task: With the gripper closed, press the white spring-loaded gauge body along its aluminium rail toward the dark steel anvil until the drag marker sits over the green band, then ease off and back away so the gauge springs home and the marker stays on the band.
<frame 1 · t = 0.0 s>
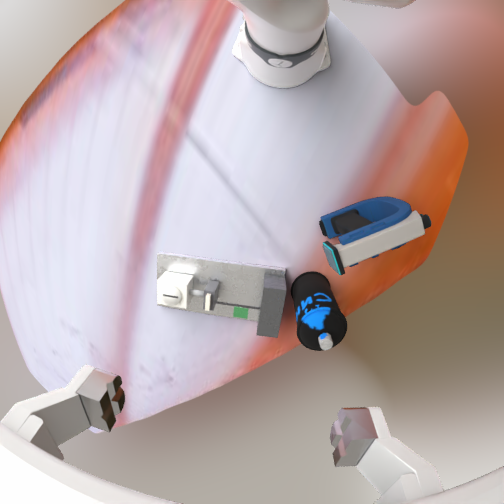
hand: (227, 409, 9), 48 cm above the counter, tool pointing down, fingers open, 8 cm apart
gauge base: (218, 286, 60), on the counter
gauge body: (182, 291, 56), point 5 cm above the counter, slide at 0.0 cm
drag marker: (210, 296, 56), point 5 cm above the counter, slide at 0.0 cm
handheld scanner: (349, 217, 55), on the counter
black water bottle: (310, 289, 60), on the counter
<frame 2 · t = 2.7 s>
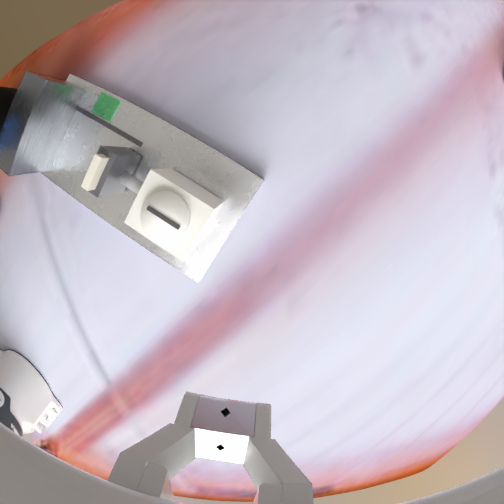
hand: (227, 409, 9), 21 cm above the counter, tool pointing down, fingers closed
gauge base: (128, 165, 28), on the counter
gauge body: (160, 202, 24), point 5 cm above the counter, slide at 0.0 cm
drag marker: (109, 170, 23), point 5 cm above the counter, slide at 0.0 cm
black water bottle: (26, 119, 26), on the counter
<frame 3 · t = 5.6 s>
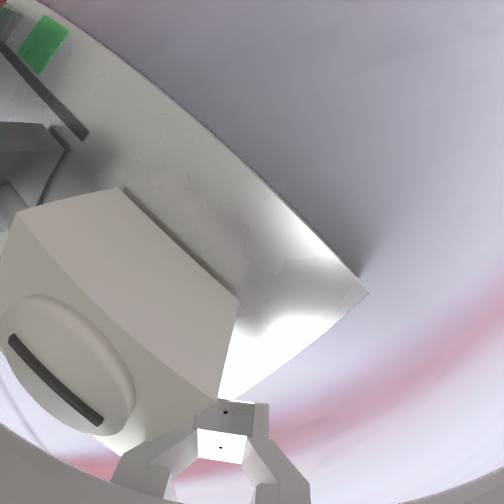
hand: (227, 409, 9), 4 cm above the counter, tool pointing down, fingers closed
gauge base: (61, 176, 11), on the counter
gauge body: (68, 292, 8), point 5 cm above the counter, slide at 1.4 cm, touching drag marker, gripper
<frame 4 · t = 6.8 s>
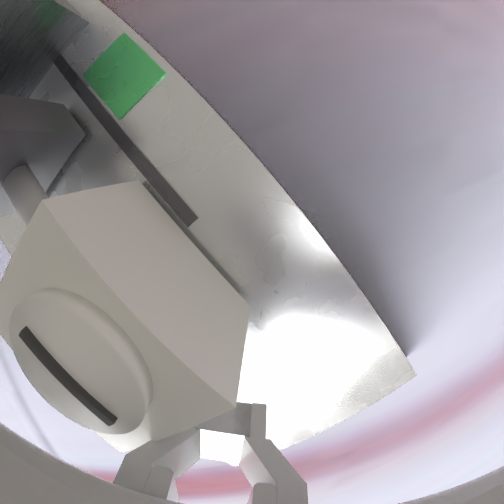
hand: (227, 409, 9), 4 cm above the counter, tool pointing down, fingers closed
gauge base: (140, 241, 12), on the counter
gauge body: (81, 284, 7), point 5 cm above the counter, slide at 6.4 cm, touching drag marker, gripper
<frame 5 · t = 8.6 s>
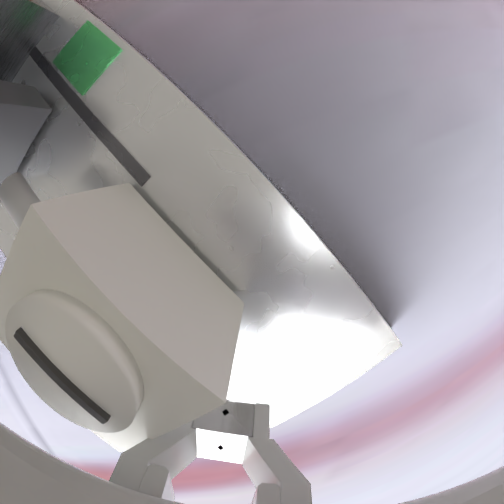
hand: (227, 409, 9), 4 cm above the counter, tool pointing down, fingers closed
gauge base: (105, 210, 12), on the counter
gauge body: (75, 286, 8), point 5 cm above the counter, slide at 4.4 cm, touching gripper
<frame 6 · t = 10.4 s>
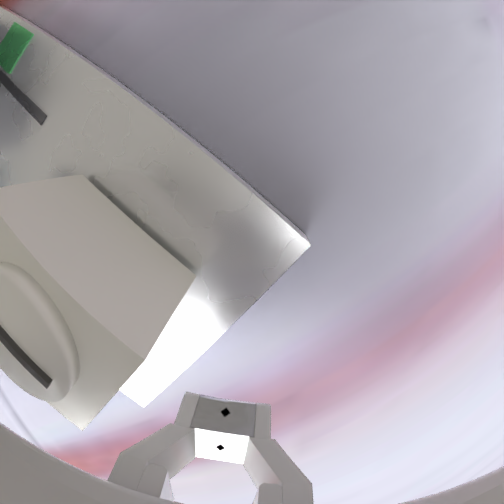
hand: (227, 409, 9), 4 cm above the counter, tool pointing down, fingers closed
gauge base: (29, 161, 11), on the counter
gauge body: (34, 270, 8), point 5 cm above the counter, slide at 0.3 cm
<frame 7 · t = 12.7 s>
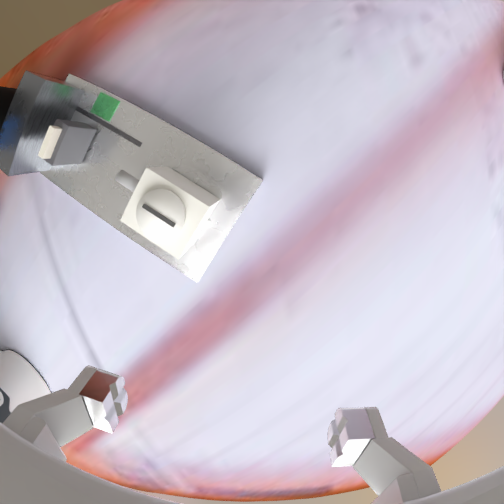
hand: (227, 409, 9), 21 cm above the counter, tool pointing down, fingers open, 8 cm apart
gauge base: (127, 165, 28), on the counter
gauge body: (156, 200, 24), point 5 cm above the counter, slide at 0.3 cm
drag marker: (65, 142, 22), point 5 cm above the counter, slide at 6.3 cm
black water bottle: (25, 119, 26), on the counter
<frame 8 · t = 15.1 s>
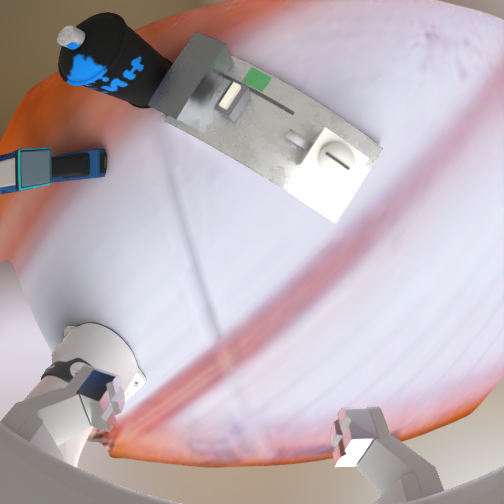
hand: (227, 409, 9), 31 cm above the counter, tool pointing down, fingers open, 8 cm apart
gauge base: (274, 129, 35), on the counter
gauge body: (321, 153, 31), point 5 cm above the counter, slide at 0.3 cm
drag marker: (233, 100, 30), point 5 cm above the counter, slide at 6.3 cm
handheld scanner: (78, 164, 38), on the counter
black water bottle: (150, 82, 34), on the counter
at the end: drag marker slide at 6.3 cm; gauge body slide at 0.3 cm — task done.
